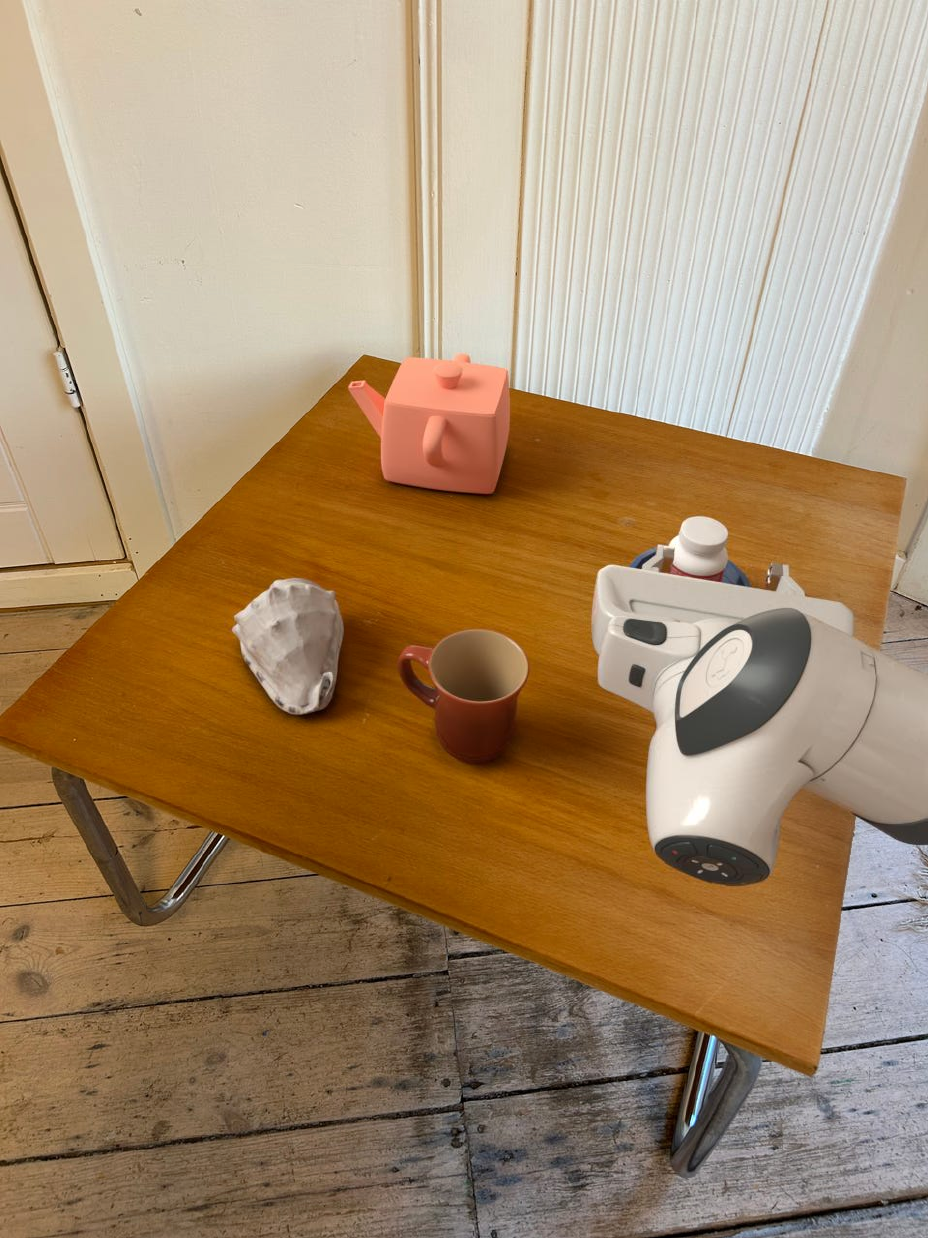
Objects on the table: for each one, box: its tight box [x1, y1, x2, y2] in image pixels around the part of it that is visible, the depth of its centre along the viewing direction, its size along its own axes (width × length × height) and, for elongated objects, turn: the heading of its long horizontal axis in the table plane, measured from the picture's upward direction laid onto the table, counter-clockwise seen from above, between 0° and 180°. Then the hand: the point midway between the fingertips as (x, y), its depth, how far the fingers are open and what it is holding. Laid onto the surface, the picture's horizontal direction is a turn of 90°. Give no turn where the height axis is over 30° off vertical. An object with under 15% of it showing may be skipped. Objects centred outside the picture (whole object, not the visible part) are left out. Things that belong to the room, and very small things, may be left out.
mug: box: [397, 628, 530, 764], centre depth 78 cm, size 12×9×10 cm
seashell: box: [231, 577, 345, 716], centre depth 84 cm, size 12×14×10 cm
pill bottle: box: [666, 515, 729, 582], centre depth 90 cm, size 6×6×11 cm
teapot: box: [347, 352, 511, 495], centre depth 108 cm, size 20×22×14 cm
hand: (720, 560), depth 74 cm, fingers open, 8 cm apart
